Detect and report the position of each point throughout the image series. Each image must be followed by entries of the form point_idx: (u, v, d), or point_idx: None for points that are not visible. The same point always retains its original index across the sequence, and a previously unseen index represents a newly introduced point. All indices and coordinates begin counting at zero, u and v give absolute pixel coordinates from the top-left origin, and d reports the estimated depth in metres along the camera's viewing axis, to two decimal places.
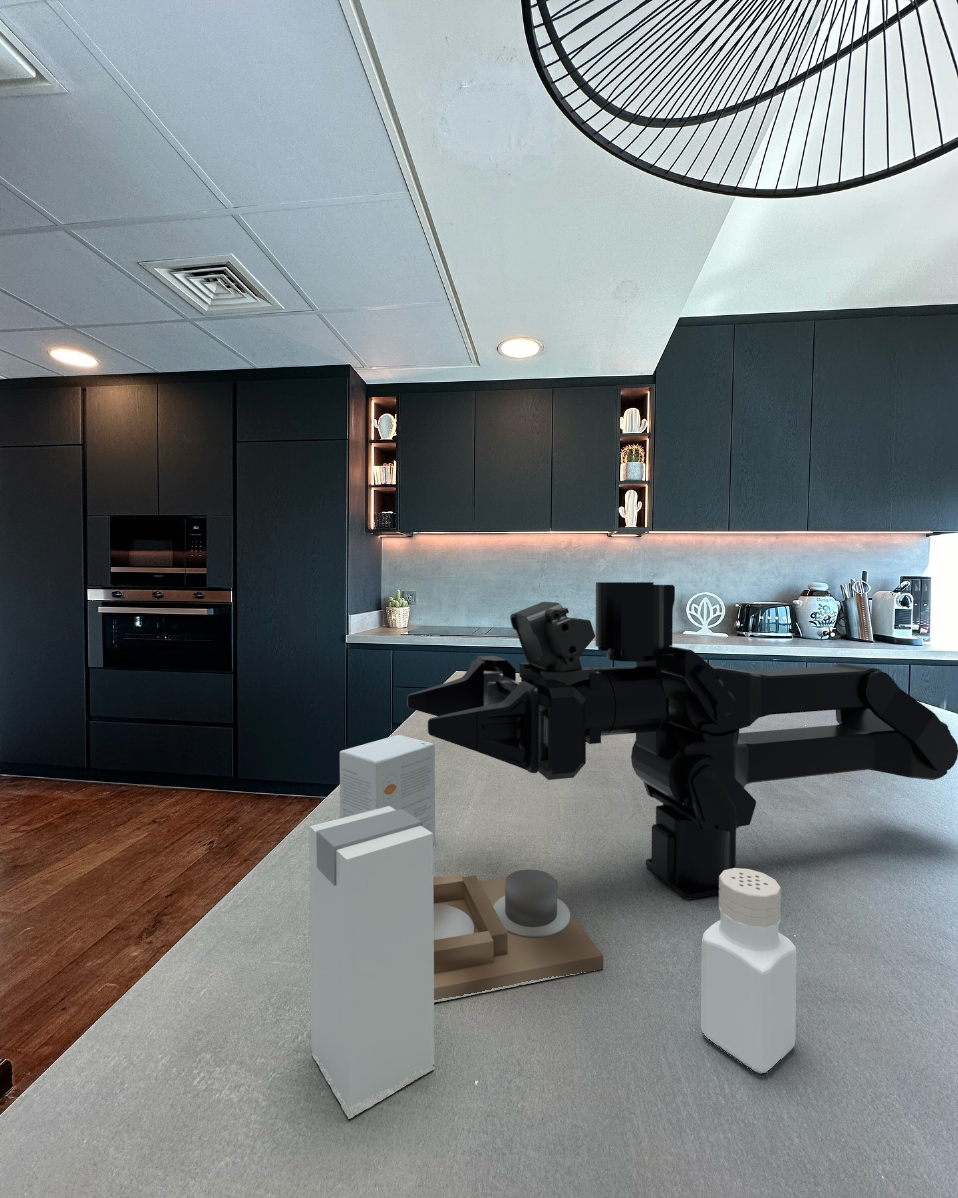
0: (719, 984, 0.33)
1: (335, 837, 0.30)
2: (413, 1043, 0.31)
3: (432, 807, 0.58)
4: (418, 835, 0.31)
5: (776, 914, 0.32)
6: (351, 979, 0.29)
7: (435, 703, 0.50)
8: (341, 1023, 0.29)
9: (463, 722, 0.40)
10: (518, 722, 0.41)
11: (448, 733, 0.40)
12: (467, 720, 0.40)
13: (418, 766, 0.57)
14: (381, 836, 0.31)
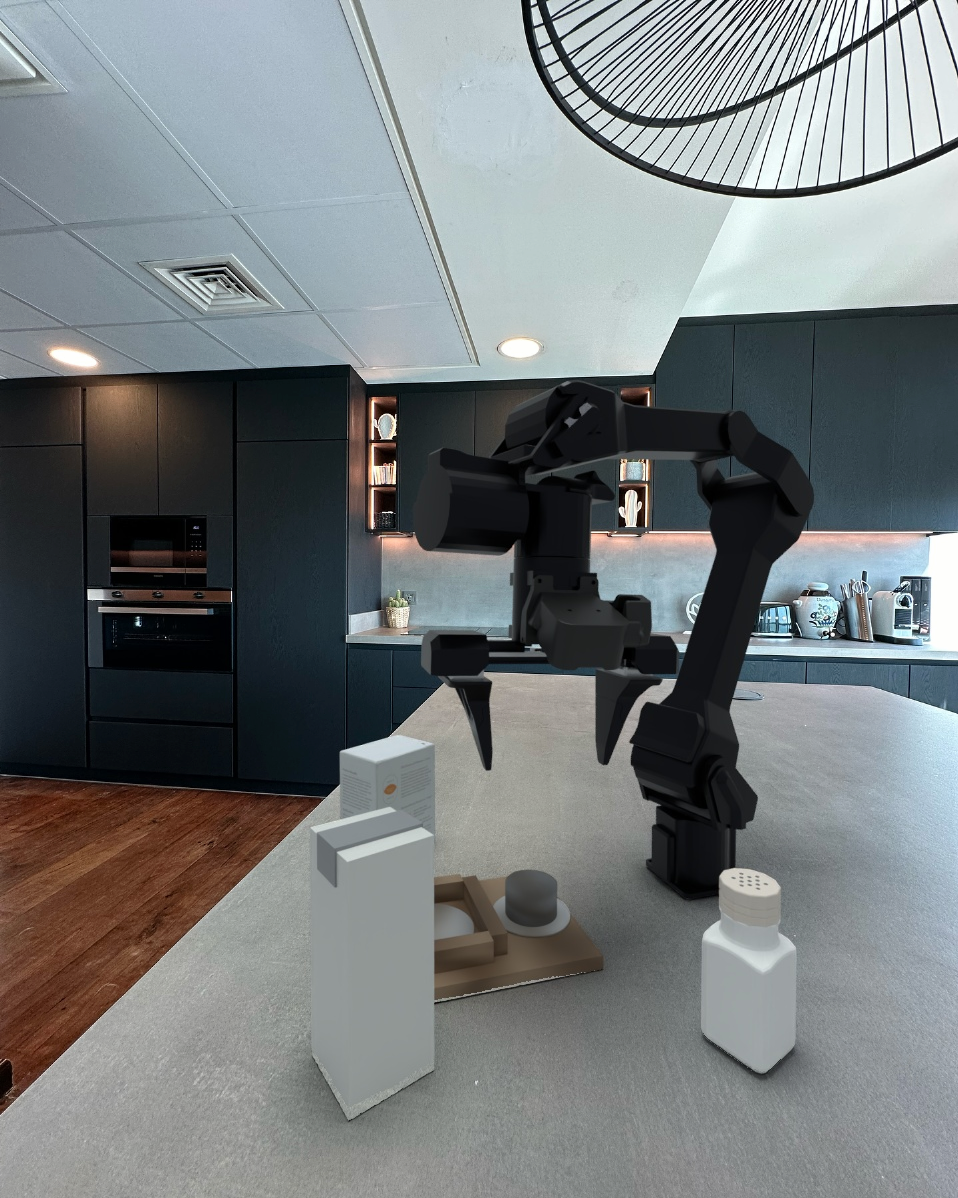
0: (719, 985, 0.33)
1: (335, 839, 0.30)
2: (413, 1045, 0.31)
3: (432, 807, 0.58)
4: (419, 837, 0.31)
5: (776, 914, 0.32)
6: (351, 982, 0.28)
7: None
8: (341, 1024, 0.29)
9: None
10: None
11: None
12: None
13: (418, 767, 0.57)
14: (382, 838, 0.31)
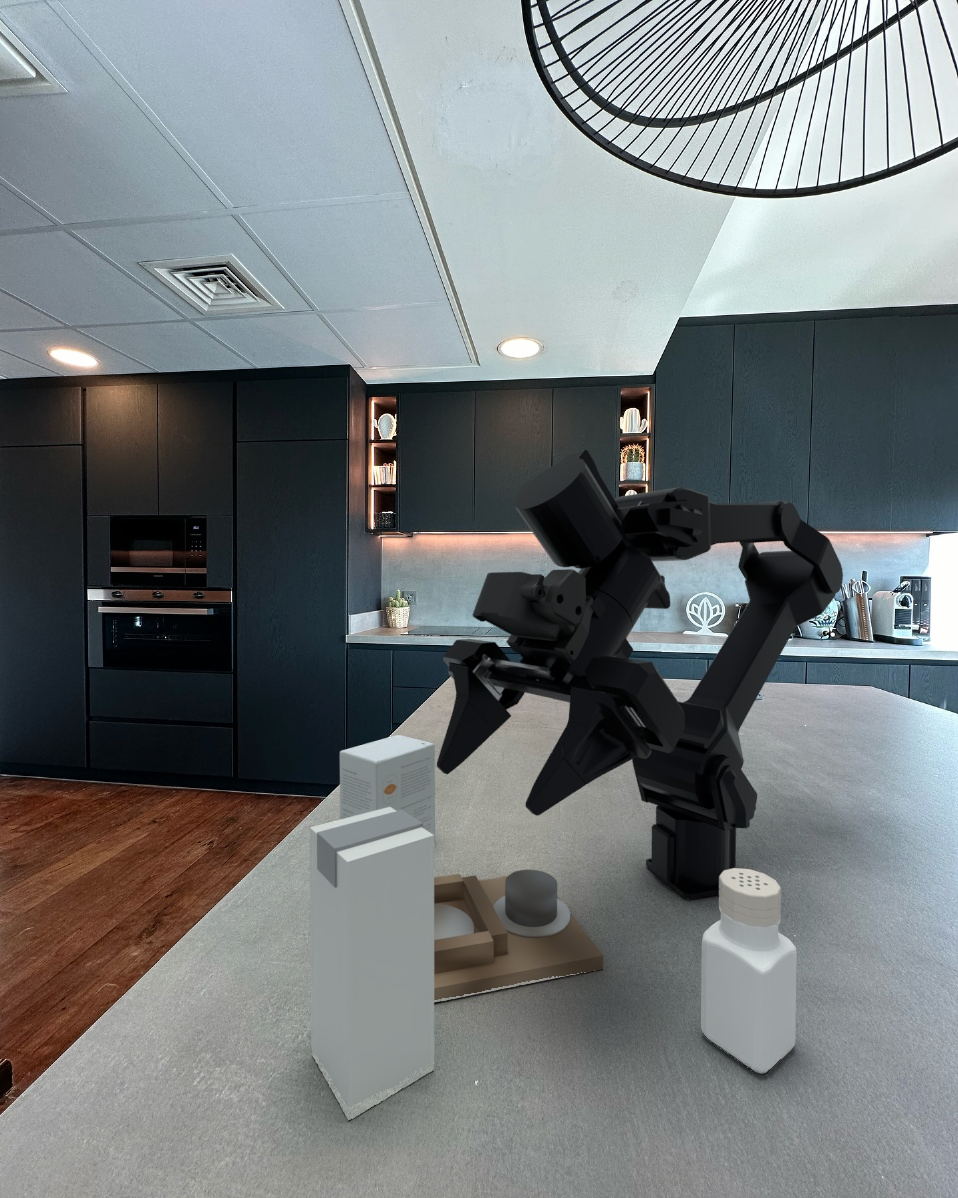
0: (719, 985, 0.33)
1: (336, 839, 0.30)
2: (413, 1045, 0.31)
3: (432, 807, 0.58)
4: (419, 837, 0.31)
5: (776, 914, 0.32)
6: (352, 982, 0.28)
7: (463, 745, 0.42)
8: (341, 1025, 0.29)
9: (559, 777, 0.33)
10: (597, 725, 0.35)
11: (553, 798, 0.34)
12: (561, 772, 0.33)
13: (418, 766, 0.57)
14: (382, 838, 0.31)
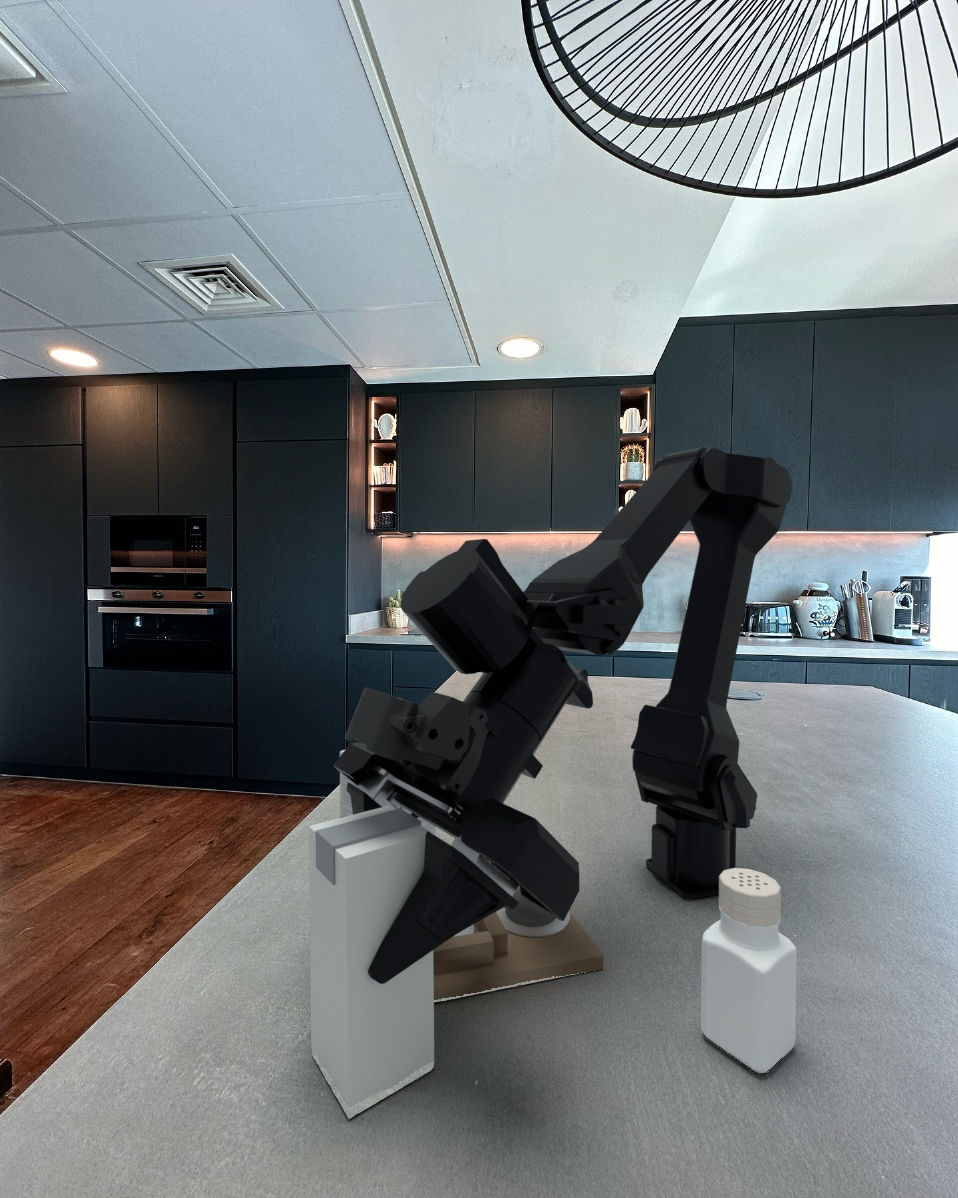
0: (719, 984, 0.33)
1: (334, 837, 0.30)
2: (413, 1043, 0.31)
3: None
4: (417, 834, 0.31)
5: (776, 914, 0.32)
6: (351, 979, 0.29)
7: None
8: (340, 1022, 0.29)
9: (407, 940, 0.29)
10: (458, 873, 0.31)
11: (401, 962, 0.29)
12: (409, 934, 0.29)
13: None
14: (380, 836, 0.31)
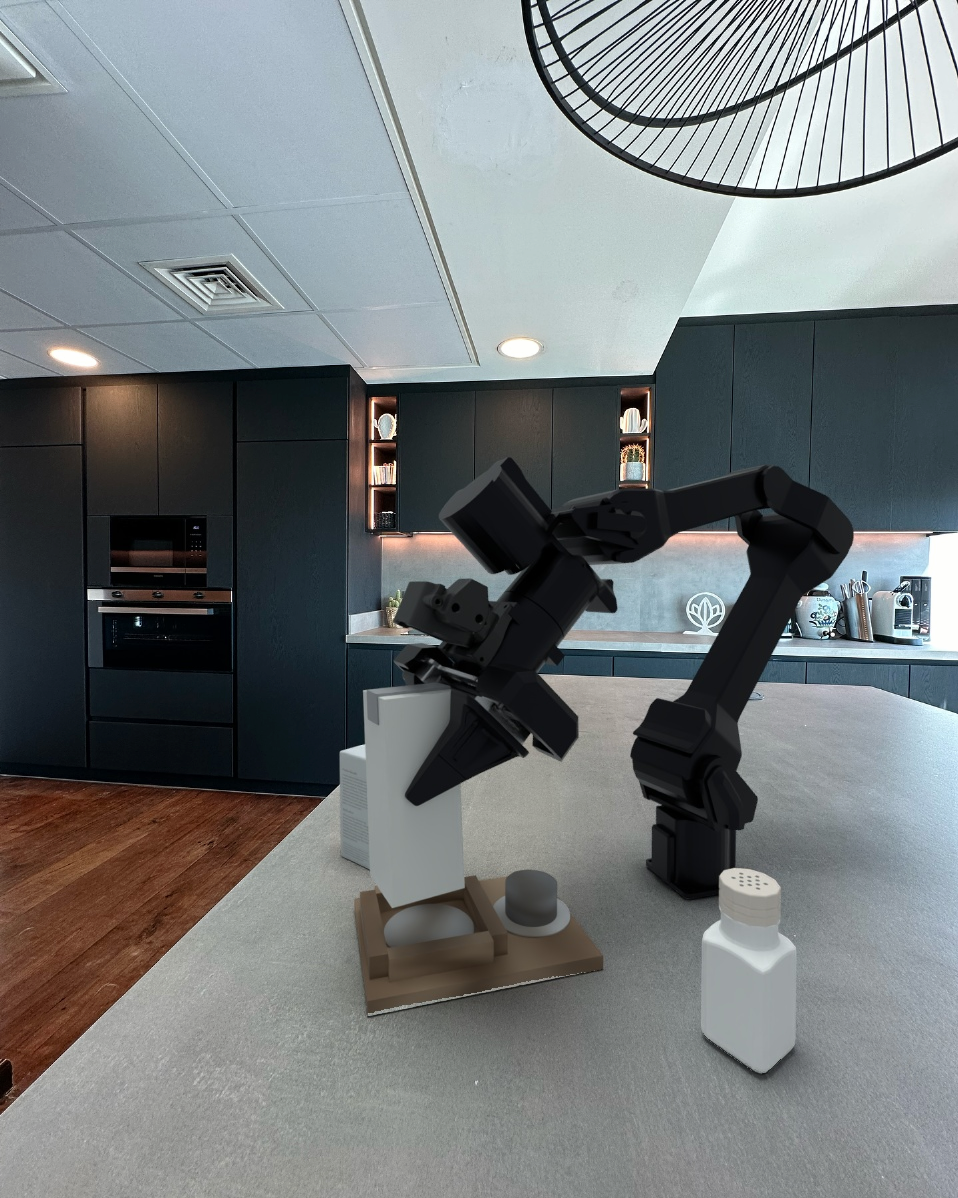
0: (719, 984, 0.33)
1: (379, 691, 0.38)
2: (445, 861, 0.38)
3: None
4: (444, 692, 0.38)
5: (776, 914, 0.32)
6: (391, 795, 0.36)
7: None
8: (385, 833, 0.37)
9: (435, 772, 0.36)
10: (478, 725, 0.37)
11: (431, 790, 0.37)
12: (437, 767, 0.36)
13: None
14: (415, 692, 0.38)
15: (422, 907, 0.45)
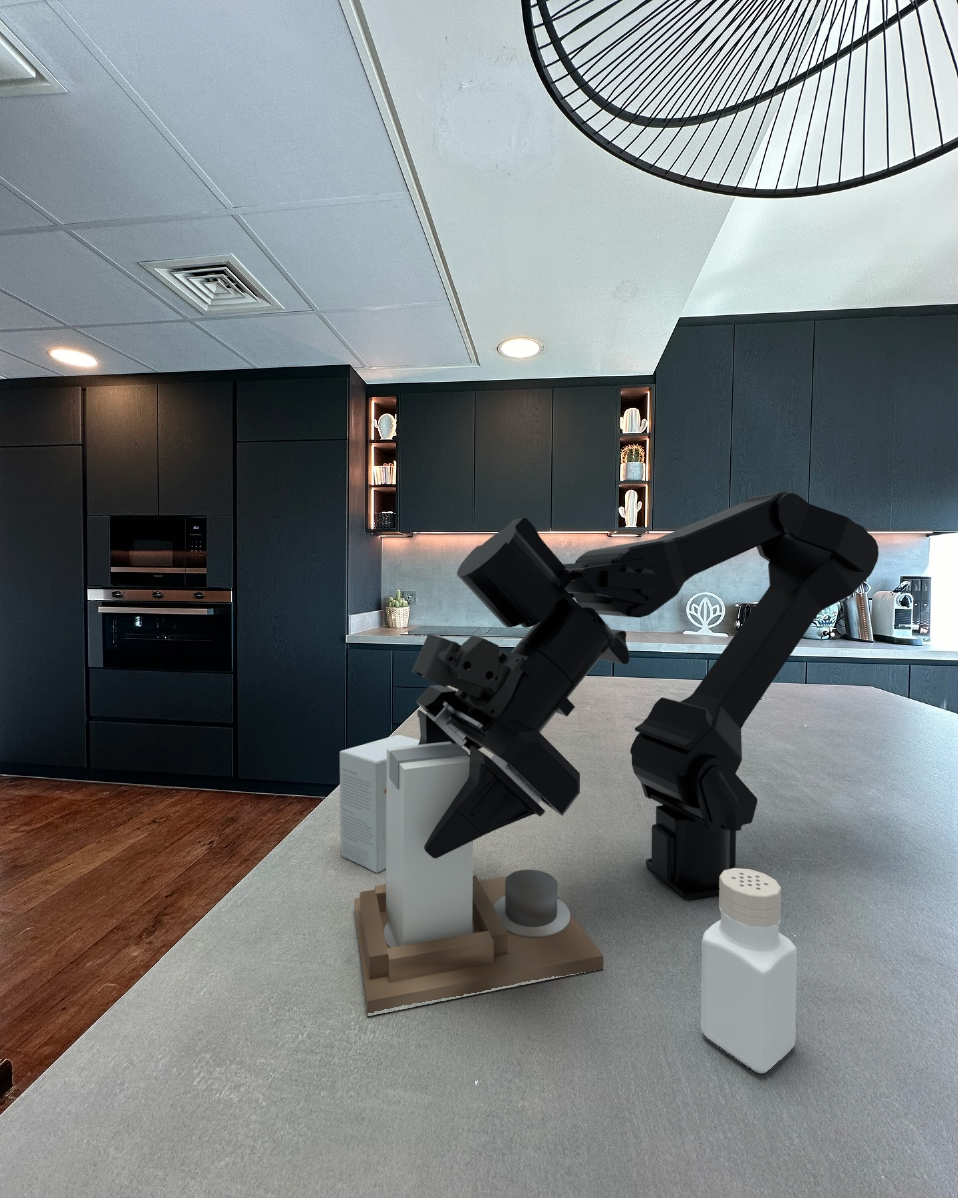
0: (719, 985, 0.33)
1: (401, 755, 0.41)
2: (455, 917, 0.40)
3: None
4: (462, 760, 0.40)
5: (776, 914, 0.32)
6: (406, 857, 0.39)
7: None
8: (400, 889, 0.40)
9: (453, 826, 0.37)
10: (496, 781, 0.38)
11: (449, 844, 0.38)
12: (455, 822, 0.37)
13: None
14: (435, 759, 0.41)
15: None
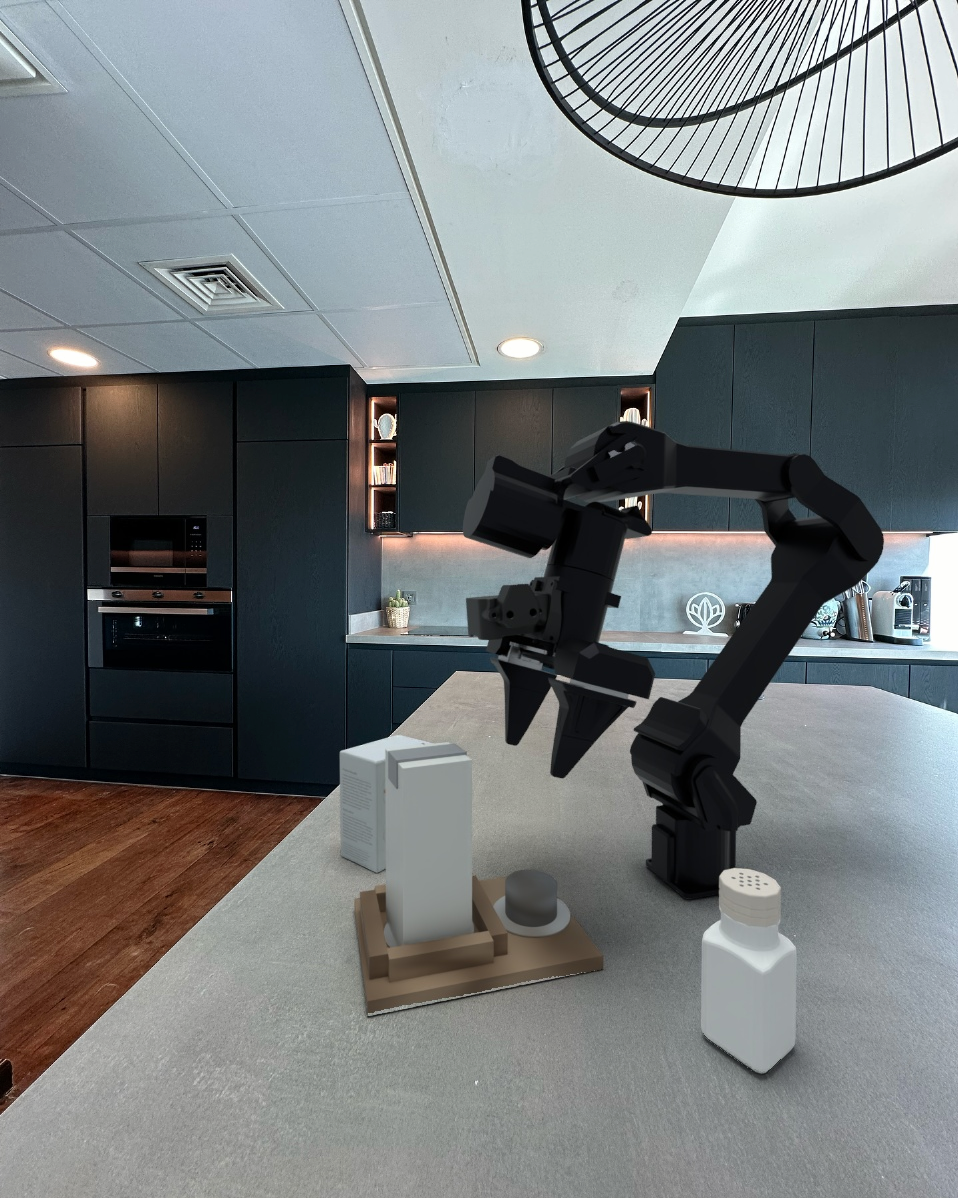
0: (719, 985, 0.33)
1: (399, 755, 0.41)
2: (454, 917, 0.40)
3: None
4: (460, 760, 0.40)
5: (776, 914, 0.32)
6: (406, 857, 0.39)
7: (521, 719, 0.51)
8: (399, 889, 0.40)
9: (566, 748, 0.42)
10: (584, 696, 0.42)
11: (569, 762, 0.42)
12: (565, 744, 0.42)
13: None
14: (433, 758, 0.41)
15: None
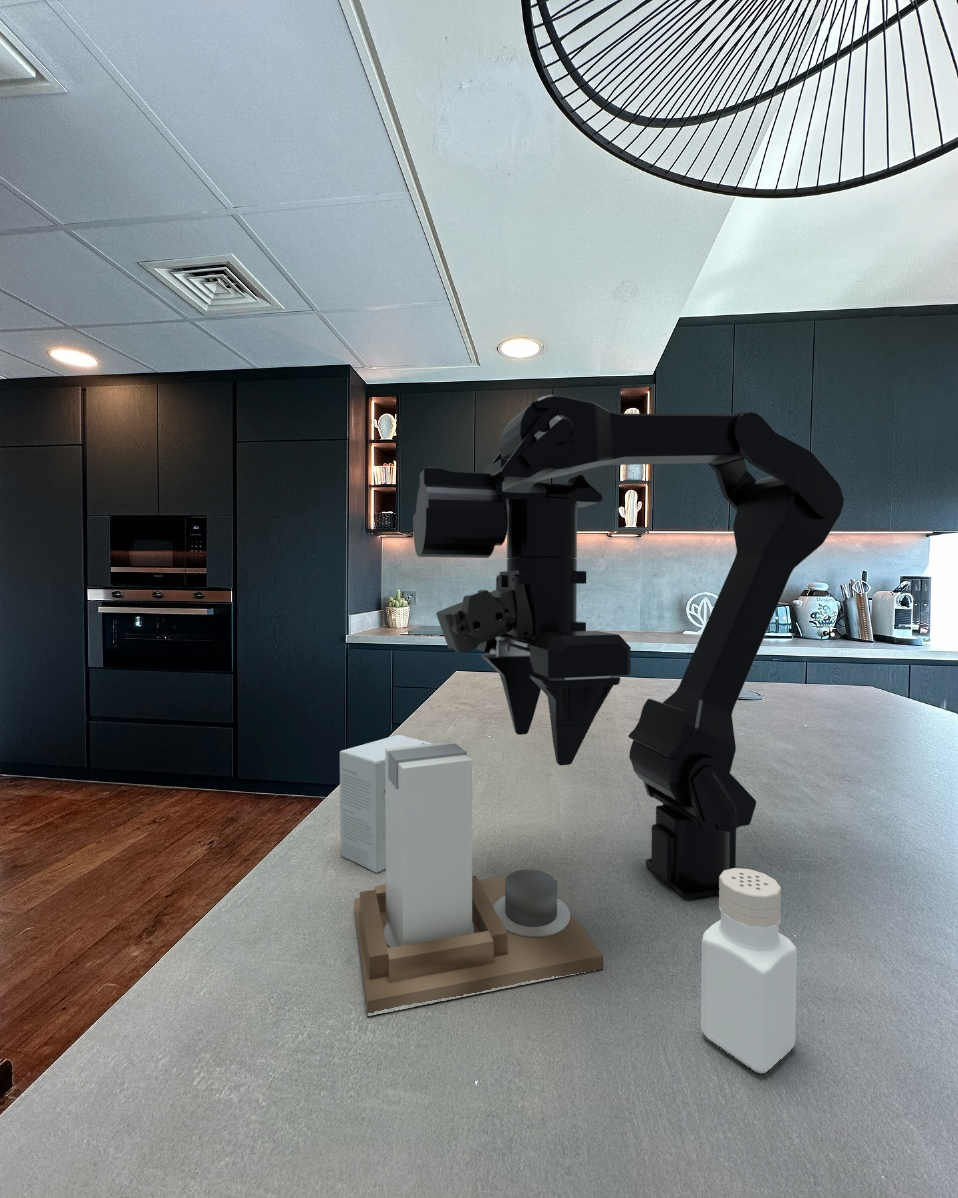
0: (719, 985, 0.33)
1: (399, 755, 0.41)
2: (454, 917, 0.40)
3: None
4: (460, 760, 0.40)
5: (776, 914, 0.32)
6: (406, 857, 0.39)
7: (525, 707, 0.52)
8: (399, 889, 0.40)
9: (564, 737, 0.42)
10: None
11: (572, 748, 0.43)
12: (563, 733, 0.42)
13: None
14: (433, 758, 0.41)
15: None
